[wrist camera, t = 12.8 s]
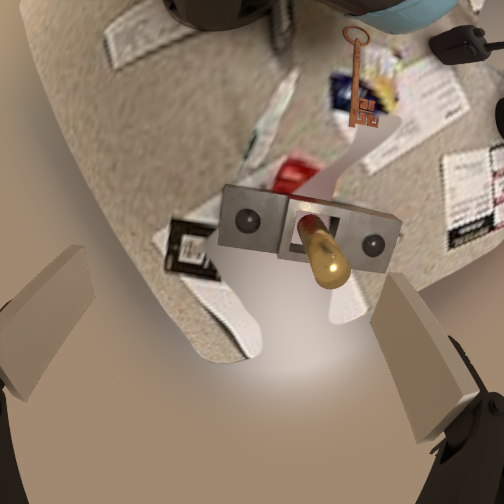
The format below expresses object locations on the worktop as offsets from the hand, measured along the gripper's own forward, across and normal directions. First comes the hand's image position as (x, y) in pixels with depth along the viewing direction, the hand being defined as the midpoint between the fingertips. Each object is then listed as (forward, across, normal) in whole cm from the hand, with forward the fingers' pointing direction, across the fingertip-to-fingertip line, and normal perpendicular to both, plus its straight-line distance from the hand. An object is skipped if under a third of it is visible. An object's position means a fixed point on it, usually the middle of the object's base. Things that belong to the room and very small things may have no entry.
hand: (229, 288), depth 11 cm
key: (+28, +13, +15) cm, 34 cm away
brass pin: (+26, +9, -7) cm, 29 cm away
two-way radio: (+28, +26, +23) cm, 44 cm away
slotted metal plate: (+26, +9, -7) cm, 29 cm away
